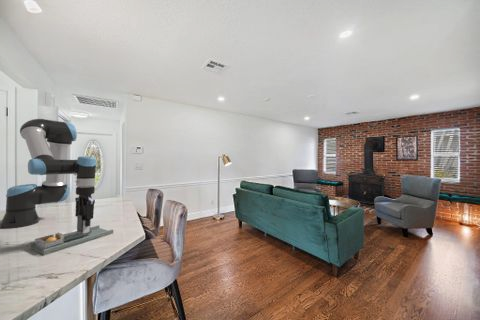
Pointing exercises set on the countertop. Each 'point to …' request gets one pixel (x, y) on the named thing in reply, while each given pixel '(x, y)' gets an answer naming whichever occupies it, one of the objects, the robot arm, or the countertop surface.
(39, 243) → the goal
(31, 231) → the countertop surface
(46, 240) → the ball
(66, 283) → the countertop surface
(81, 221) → the block
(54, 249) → the grey-green channel tray
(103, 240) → the countertop surface
